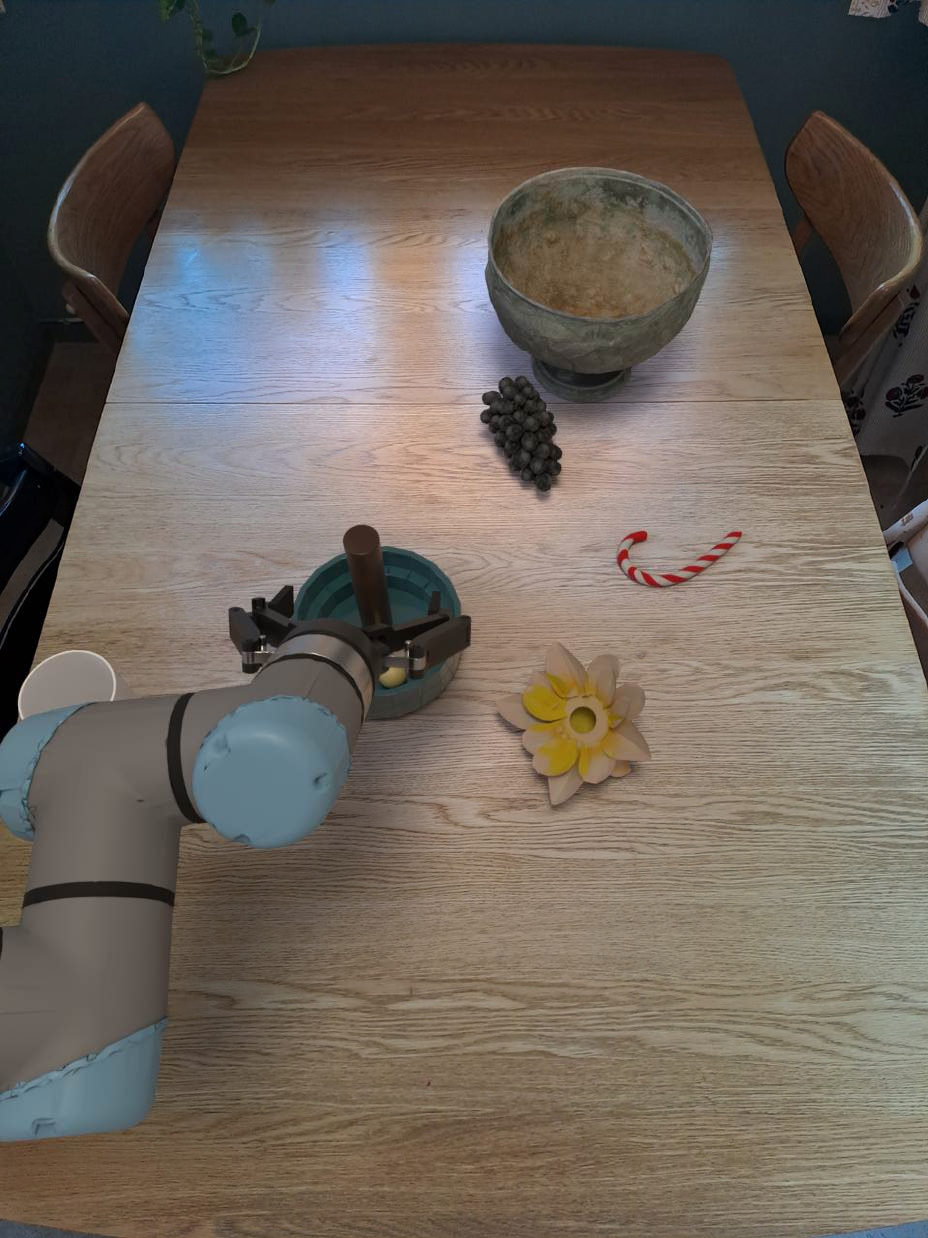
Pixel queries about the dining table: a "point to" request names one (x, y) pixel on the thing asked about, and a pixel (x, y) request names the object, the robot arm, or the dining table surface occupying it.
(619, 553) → the candy cane
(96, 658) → the cup
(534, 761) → the decorative flower
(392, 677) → the bead
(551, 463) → the fruit
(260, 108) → the dining table surface
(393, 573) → the teal bowl
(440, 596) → the robot arm
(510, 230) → the decorative bowl
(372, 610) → the brown wooden dowel
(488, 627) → the dining table surface
